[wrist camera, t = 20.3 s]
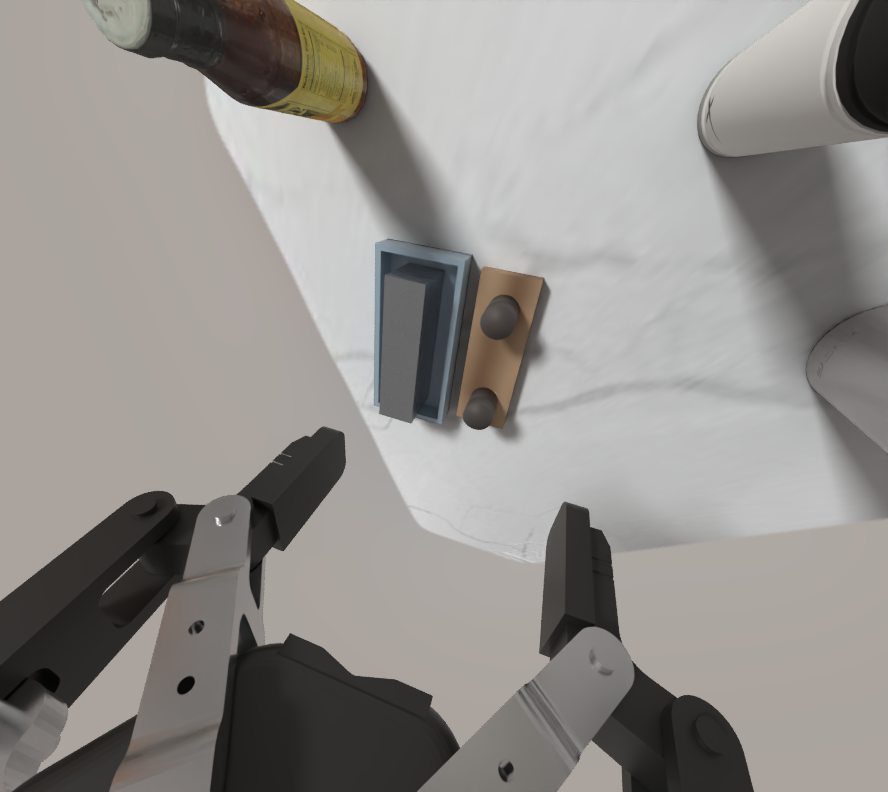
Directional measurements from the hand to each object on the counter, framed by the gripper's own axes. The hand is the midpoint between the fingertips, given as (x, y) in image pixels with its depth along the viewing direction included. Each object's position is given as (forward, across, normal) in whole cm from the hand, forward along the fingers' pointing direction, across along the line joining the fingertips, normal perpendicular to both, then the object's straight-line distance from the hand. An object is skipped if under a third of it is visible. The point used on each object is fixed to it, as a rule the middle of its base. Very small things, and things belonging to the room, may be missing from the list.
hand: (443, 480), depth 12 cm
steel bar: (+28, +10, +8) cm, 31 cm away
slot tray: (+28, +10, +8) cm, 31 cm away
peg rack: (+28, +2, +8) cm, 29 cm away
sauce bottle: (+28, +20, -14) cm, 37 cm away
